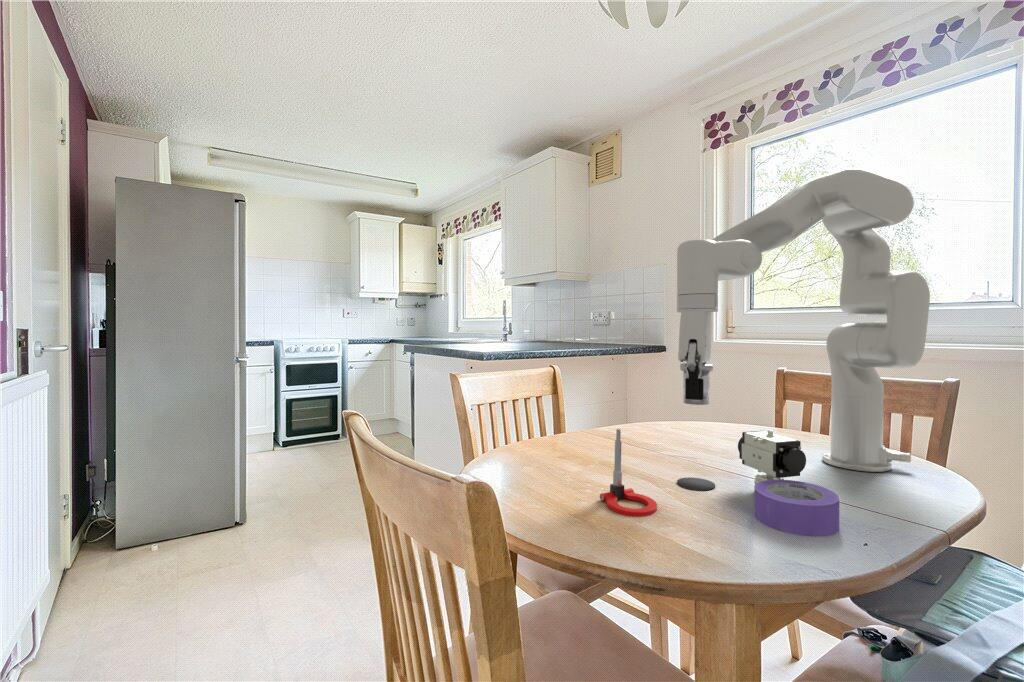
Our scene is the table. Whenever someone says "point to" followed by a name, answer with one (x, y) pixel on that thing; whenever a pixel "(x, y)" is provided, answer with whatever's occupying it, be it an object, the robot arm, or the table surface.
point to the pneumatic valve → (771, 455)
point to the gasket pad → (696, 484)
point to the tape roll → (797, 507)
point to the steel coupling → (706, 376)
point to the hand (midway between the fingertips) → (696, 396)
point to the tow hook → (619, 491)
